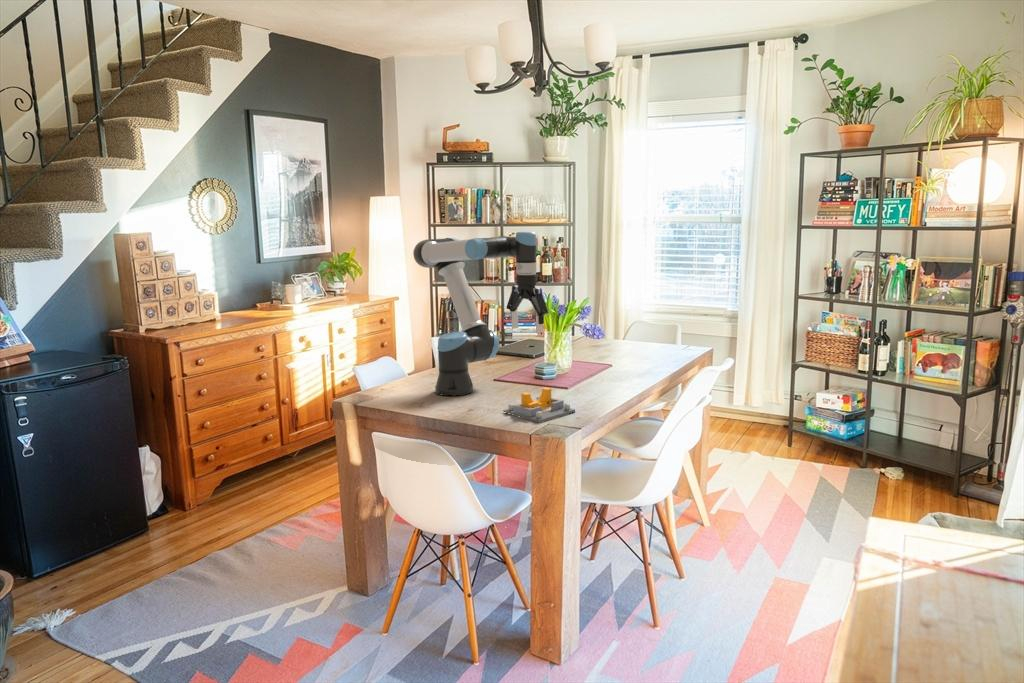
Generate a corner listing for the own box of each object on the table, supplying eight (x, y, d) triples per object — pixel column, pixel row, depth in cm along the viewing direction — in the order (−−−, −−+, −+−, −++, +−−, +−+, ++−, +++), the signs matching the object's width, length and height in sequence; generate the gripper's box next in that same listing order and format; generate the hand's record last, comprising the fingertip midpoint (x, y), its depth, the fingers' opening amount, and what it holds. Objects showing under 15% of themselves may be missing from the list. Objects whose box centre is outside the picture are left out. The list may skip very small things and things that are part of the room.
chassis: (503, 412, 258) (503, 403, 257) (539, 403, 270) (539, 393, 269) (539, 423, 245) (538, 413, 244) (575, 412, 257) (575, 402, 256)
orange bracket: (529, 413, 252) (529, 395, 251) (521, 411, 255) (521, 393, 254) (554, 407, 260) (554, 389, 259) (546, 404, 263) (546, 387, 262)
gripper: (496, 272, 275) (497, 327, 279) (542, 276, 257) (542, 335, 261) (511, 271, 280) (512, 325, 284) (557, 275, 262) (557, 333, 266)
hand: (527, 330), depth 273 cm, fingers open, 13 cm apart
